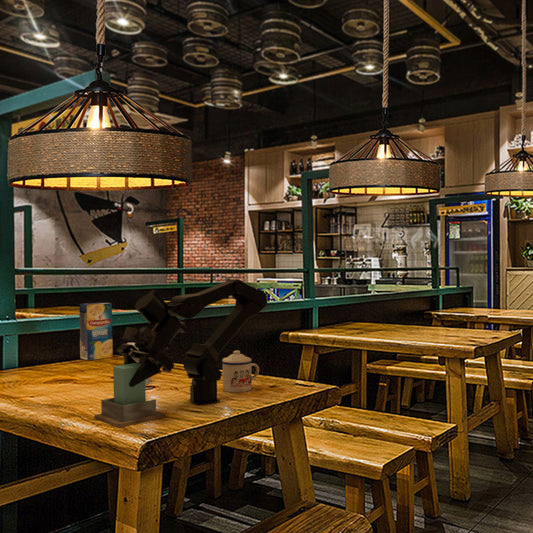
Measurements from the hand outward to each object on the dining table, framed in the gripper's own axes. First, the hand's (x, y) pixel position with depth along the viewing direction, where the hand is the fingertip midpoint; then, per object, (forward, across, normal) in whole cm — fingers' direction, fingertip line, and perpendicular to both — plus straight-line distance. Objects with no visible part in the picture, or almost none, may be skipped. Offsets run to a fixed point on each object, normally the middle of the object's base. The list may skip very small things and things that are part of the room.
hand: (124, 384), depth 146 cm
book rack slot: (+5, 0, +7) cm, 9 cm away
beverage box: (-22, -93, +35) cm, 102 cm away
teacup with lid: (-24, -5, +36) cm, 43 cm away
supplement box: (-11, -36, +24) cm, 45 cm away
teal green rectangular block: (+4, 0, +6) cm, 7 cm away
